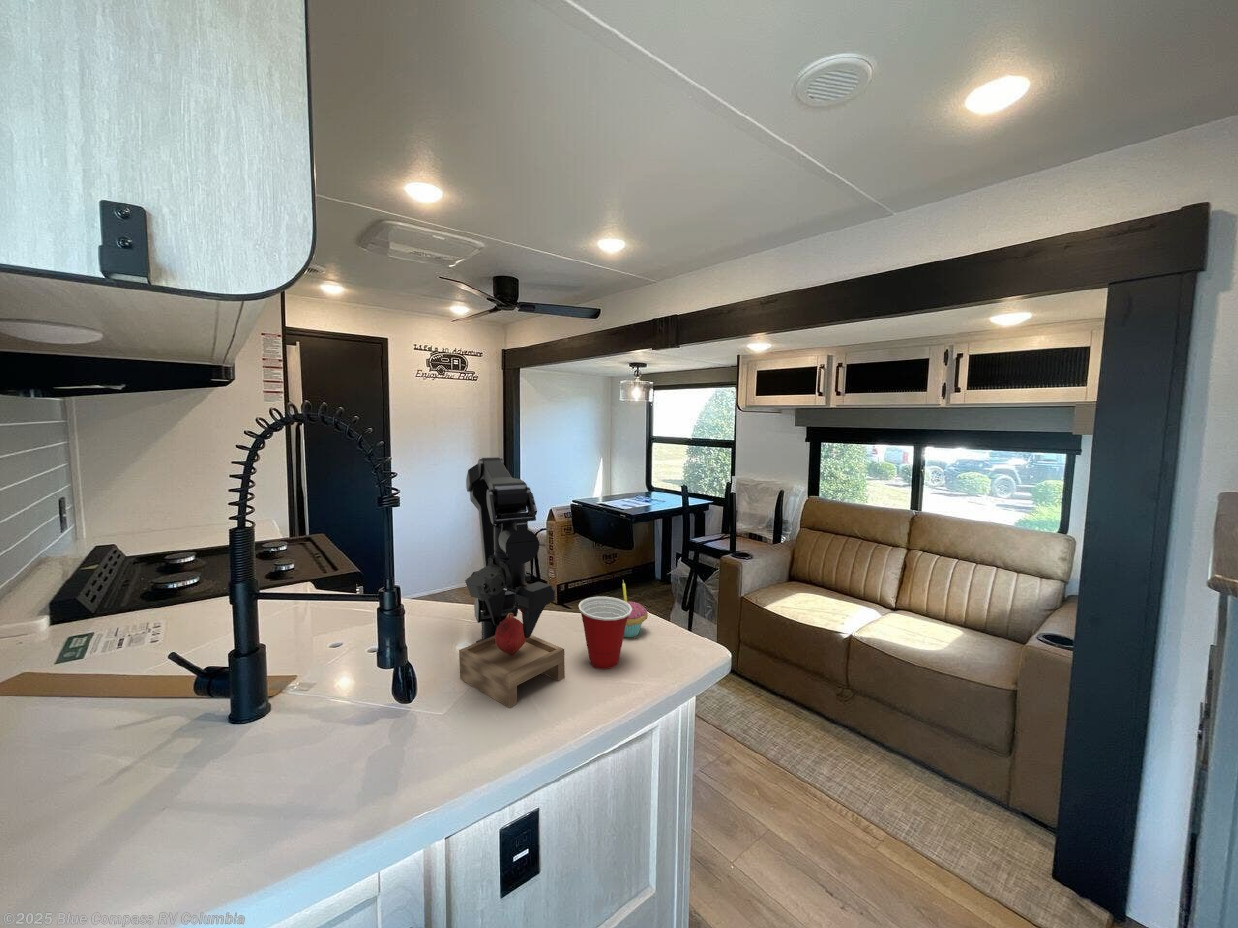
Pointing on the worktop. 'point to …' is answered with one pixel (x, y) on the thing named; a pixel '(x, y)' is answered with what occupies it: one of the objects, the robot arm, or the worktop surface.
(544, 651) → the shelf
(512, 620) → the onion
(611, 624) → the plastic cup
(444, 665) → the worktop surface
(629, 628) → the cupcake
